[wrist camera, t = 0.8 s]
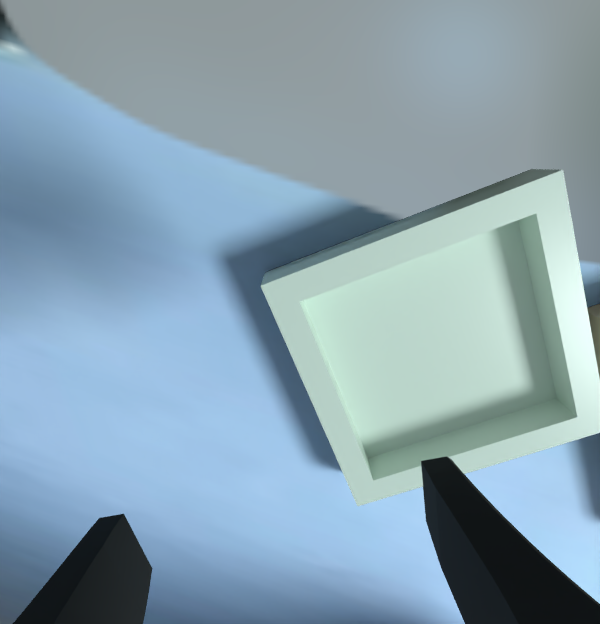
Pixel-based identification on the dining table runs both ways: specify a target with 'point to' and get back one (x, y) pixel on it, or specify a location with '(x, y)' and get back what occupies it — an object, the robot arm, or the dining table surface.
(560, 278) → the sage tray
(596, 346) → the hitch block
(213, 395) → the dining table surface
